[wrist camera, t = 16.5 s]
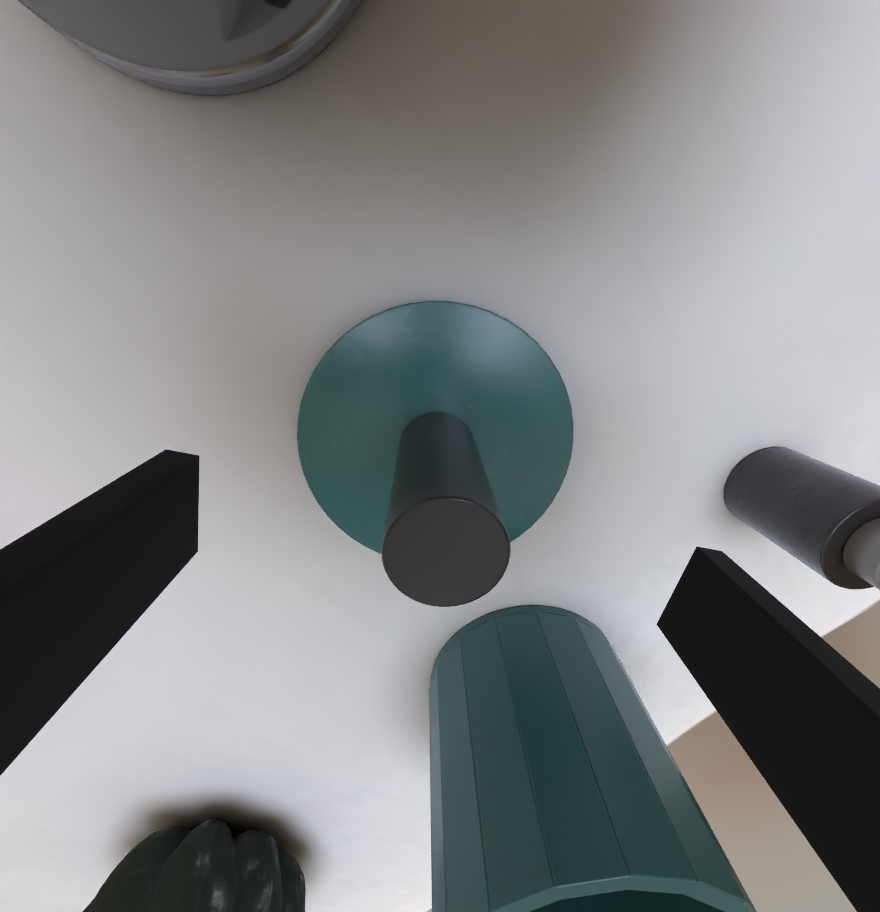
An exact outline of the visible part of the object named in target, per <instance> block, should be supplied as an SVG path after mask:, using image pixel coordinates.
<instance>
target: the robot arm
mask: <svg viewBox="0 0 880 912" xmlns="http://www.w3.org/2000/svg"><path fill="white" fill-rule="evenodd" d="M18 1H20V2H21V3H22V4H23V5H25V6H26V7H27V8H28V9H30V10H31V11H32V12H33V13H35V14H36V15H37V16H38V17H40V18H41V19H42V20H43V21H45V22H46V23H48V24H49V25H50V26H52V27H53V28H54V29H56V30H57V31H58V32H60V33H61V34H62V35H64V36H65V37H67V38H68V39H69V40H71V41H72V42H73V43H75V44H76V45H77V46H79V47H80V48H82V49H83V50H85V51H86V52H88V53H89V54H91V55H92V56H94V57H95V58H97V59H98V60H100V61H101V62H103V63H105V64H107V65H109V66H110V67H112V68H114V69H116V70H118V71H119V72H121V73H124V74H126V75H128V76H130V77H133V78H135V79H137V80H139V81H142V82H145V83H148V84H151V85H154V86H157V87H160V88H163V89H168V90H172V91H177V92H181V93H189V94H199V95H225V94H232V93H239V92H245V91H249V90H253V89H256V88H260V87H263V86H266V85H268V84H270V83H273V82H275V81H278V80H280V79H282V78H284V77H286V76H287V75H289V74H291V73H293V72H294V71H296V70H298V69H299V68H301V67H302V66H303V65H305V64H306V63H307V62H309V61H310V60H311V59H313V58H314V57H315V56H316V55H317V54H319V53H320V52H321V51H322V50H323V49H324V48H325V47H326V46H327V45H328V44H329V43H330V42H331V41H332V40H333V39H334V38H335V36H336V35H337V34H338V33H339V32H340V30H341V29H342V28H343V27H344V26H345V24H346V23H347V21H348V20H349V19H350V17H351V16H352V14H353V13H354V11H355V10H356V8H357V7H358V5H359V3H360V2H361V0H18ZM198 502H199V456H198V455H193V454H187V453H182V452H176V451H171V450H164V451H163V452H161V453H159V454H158V455H156V456H154V457H153V458H151V459H149V460H148V461H146V462H144V463H143V464H141V465H139V466H138V467H136V468H134V469H133V470H131V471H130V472H128V473H126V474H125V475H123V476H121V477H120V478H118V479H116V480H115V481H113V482H111V483H110V484H108V485H106V486H105V487H103V488H101V489H100V490H98V491H96V492H95V493H93V494H91V495H90V496H88V497H87V498H85V499H83V500H82V501H80V502H78V503H77V504H75V505H73V506H72V507H70V508H68V509H67V510H65V511H63V512H62V513H60V514H58V515H57V516H55V517H53V518H52V519H50V520H48V521H47V522H45V523H43V524H42V525H40V526H39V527H37V528H35V529H34V530H32V531H30V532H29V533H27V534H25V535H24V536H22V537H20V538H19V539H17V540H15V541H14V542H12V543H10V544H9V545H7V546H5V547H4V548H2V549H0V775H1V774H2V773H3V772H4V771H5V770H6V768H7V767H8V766H9V765H10V764H11V763H12V762H13V761H14V759H15V758H16V757H17V756H18V755H19V754H20V753H21V751H22V750H23V749H24V748H25V747H26V746H27V745H28V743H29V742H30V741H31V740H32V739H33V738H34V737H35V736H36V734H37V733H38V732H39V731H40V730H41V729H42V728H43V726H44V725H45V724H46V723H47V722H48V721H49V720H50V719H51V717H52V716H53V715H54V714H55V713H56V712H57V711H58V709H59V708H60V707H61V706H62V705H63V704H64V703H65V701H66V700H67V699H68V698H69V697H70V696H71V695H72V694H73V692H74V691H75V690H76V689H77V688H78V687H79V686H80V684H81V683H82V682H83V681H84V680H85V679H86V678H87V676H88V675H89V674H90V673H91V672H92V671H93V670H94V669H95V667H96V666H97V665H98V664H99V663H100V662H101V661H102V659H103V658H104V657H105V656H106V655H107V654H108V653H109V651H110V650H111V649H112V648H113V647H114V646H115V645H116V644H117V642H118V641H119V640H120V639H121V638H122V637H123V636H124V634H125V633H126V632H127V631H128V630H129V629H130V628H131V626H132V625H133V624H134V623H135V622H136V621H137V620H138V619H139V617H140V616H141V615H142V614H143V613H144V612H145V611H146V609H147V608H148V607H149V606H150V605H151V604H152V603H153V602H154V600H155V599H156V598H157V597H158V596H159V595H160V594H161V592H162V591H163V590H164V589H165V588H166V587H167V586H168V584H169V583H170V582H171V581H172V580H173V579H174V578H175V577H176V575H177V574H178V573H179V572H180V571H181V570H182V569H183V567H184V566H185V565H186V564H187V563H188V562H189V561H190V559H191V558H192V557H193V556H194V555H195V554H196V553H197V552H198ZM657 625H658V627H659V628H660V630H661V631H662V633H663V634H664V635H665V637H666V638H667V640H668V641H669V643H670V644H671V645H672V647H673V648H674V650H675V651H676V653H677V654H678V656H679V657H680V658H681V660H682V661H683V663H684V664H685V666H686V667H687V668H688V670H689V671H690V673H691V674H692V676H693V677H694V678H695V680H696V681H697V683H698V684H699V686H700V687H701V688H702V690H703V691H704V693H705V694H706V696H707V697H708V699H709V700H710V701H711V703H712V704H713V706H714V707H715V709H716V710H717V711H718V713H719V714H720V716H721V717H722V719H723V720H724V721H725V723H726V724H727V726H728V727H729V729H730V730H731V732H732V733H733V734H734V736H735V737H736V739H737V740H738V742H739V743H740V744H741V746H742V747H743V749H744V750H745V752H746V753H747V754H748V756H749V757H750V759H751V760H752V761H753V763H754V764H755V766H756V767H757V769H758V770H759V772H760V773H761V775H762V776H763V777H764V778H765V780H766V782H767V783H768V785H769V786H770V787H771V789H772V790H773V792H774V793H775V795H776V796H777V797H778V799H779V800H780V802H781V803H782V805H783V806H784V807H785V809H786V810H787V812H788V813H789V815H790V816H791V818H792V819H793V820H794V822H795V823H796V825H797V826H798V828H799V829H800V830H801V832H802V833H803V835H804V836H805V837H806V839H807V840H808V842H809V843H810V845H811V846H812V848H813V849H814V850H815V852H816V853H817V855H818V856H819V858H820V859H821V861H822V862H823V863H824V865H825V866H826V868H827V869H828V870H829V872H830V873H831V875H832V876H833V878H834V879H835V880H836V882H837V883H838V885H839V886H840V888H841V889H842V891H843V892H844V893H845V895H846V896H847V898H848V899H849V901H850V902H851V904H852V905H853V906H854V908H855V909H856V911H857V912H880V689H879V688H878V687H877V686H876V685H875V684H874V683H872V682H871V681H870V680H869V679H868V678H867V677H865V676H864V675H863V674H862V673H861V672H860V671H859V670H857V669H856V668H855V667H854V666H853V665H852V664H851V663H849V662H848V661H847V660H846V659H845V658H844V657H842V656H841V655H840V654H839V653H838V652H837V651H836V650H835V649H833V648H832V647H831V646H830V645H829V644H828V643H826V642H825V641H824V640H823V639H822V638H821V637H820V636H818V635H817V634H816V633H815V632H814V631H813V630H812V629H810V628H809V627H808V626H807V625H806V624H805V623H804V622H802V621H801V620H800V619H799V618H798V617H797V616H796V615H794V614H793V613H792V612H791V611H790V610H789V609H788V608H786V607H785V606H784V605H783V604H782V603H781V602H779V601H778V600H777V599H776V598H775V597H774V596H773V595H771V594H770V593H769V592H768V591H767V590H766V589H765V588H763V587H762V586H761V585H760V584H759V583H758V582H757V581H755V580H754V579H753V578H752V577H751V576H750V575H749V574H747V573H746V572H745V571H744V570H743V569H742V568H741V567H739V566H738V565H737V564H736V563H735V562H734V561H732V560H731V559H730V558H729V557H728V556H727V555H726V554H724V553H723V552H722V551H718V550H712V549H707V548H701V547H696V549H695V551H694V553H693V555H692V557H691V559H690V561H689V563H688V565H687V566H686V568H685V570H684V572H683V574H682V576H681V578H680V580H679V582H678V584H677V586H676V588H675V590H674V592H673V594H672V596H671V598H670V599H669V601H668V603H667V605H666V607H665V609H664V611H663V613H662V615H661V617H660V619H659V621H658V623H657Z"/></svg>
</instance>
